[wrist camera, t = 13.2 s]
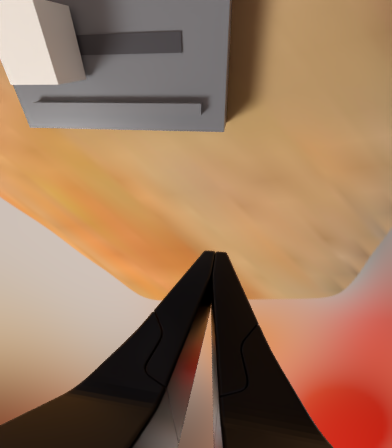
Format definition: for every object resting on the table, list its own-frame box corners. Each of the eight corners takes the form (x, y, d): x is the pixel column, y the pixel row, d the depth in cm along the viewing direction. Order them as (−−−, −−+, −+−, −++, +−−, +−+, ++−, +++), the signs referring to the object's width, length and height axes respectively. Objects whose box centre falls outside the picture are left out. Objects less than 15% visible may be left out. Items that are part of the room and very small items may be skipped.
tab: (68, 5, 14) (31, -4, 11) (86, 79, 16) (58, 84, 13) (21, 8, 14) (-24, -1, 12) (45, 79, 16) (11, 84, 14)
